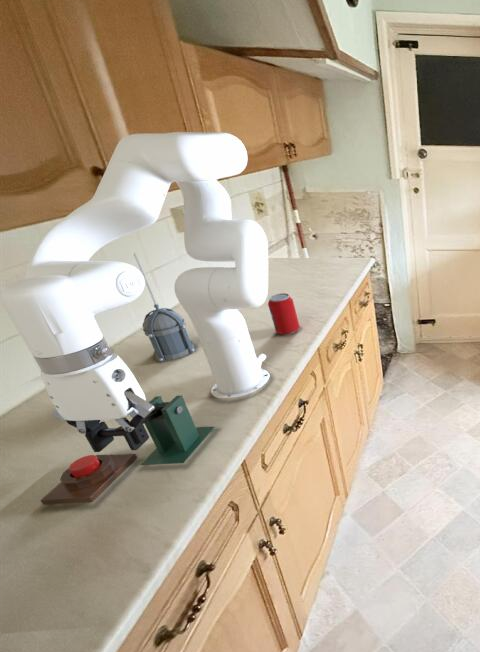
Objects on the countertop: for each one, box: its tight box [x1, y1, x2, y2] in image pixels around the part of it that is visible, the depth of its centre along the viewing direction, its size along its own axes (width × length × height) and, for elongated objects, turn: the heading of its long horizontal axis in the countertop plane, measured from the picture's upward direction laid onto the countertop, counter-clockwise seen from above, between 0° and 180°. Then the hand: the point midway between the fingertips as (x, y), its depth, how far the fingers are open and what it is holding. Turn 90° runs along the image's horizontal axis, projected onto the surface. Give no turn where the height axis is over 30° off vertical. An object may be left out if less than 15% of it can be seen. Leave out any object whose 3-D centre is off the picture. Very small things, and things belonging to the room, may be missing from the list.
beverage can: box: [267, 292, 300, 336], centre depth 124 cm, size 7×7×12 cm
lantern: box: [133, 253, 196, 363], centre depth 108 cm, size 11×11×30 cm
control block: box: [39, 453, 138, 506], centre depth 73 cm, size 10×8×4 cm
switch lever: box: [98, 401, 170, 437], centre depth 73 cm, size 12×5×2 cm, turn 4°
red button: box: [68, 454, 101, 477], centre depth 72 cm, size 4×4×2 cm
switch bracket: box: [140, 395, 216, 466], centre depth 79 cm, size 10×8×12 cm
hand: (122, 444), depth 68 cm, fingers closed on switch lever, 5 cm apart
